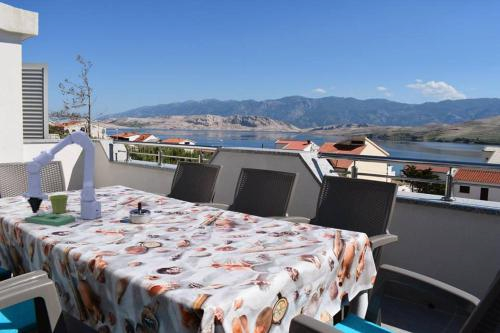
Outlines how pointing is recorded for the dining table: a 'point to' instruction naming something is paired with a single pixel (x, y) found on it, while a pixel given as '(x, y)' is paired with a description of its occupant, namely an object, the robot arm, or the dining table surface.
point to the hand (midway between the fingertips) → (35, 212)
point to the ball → (40, 212)
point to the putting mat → (50, 219)
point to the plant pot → (59, 203)
